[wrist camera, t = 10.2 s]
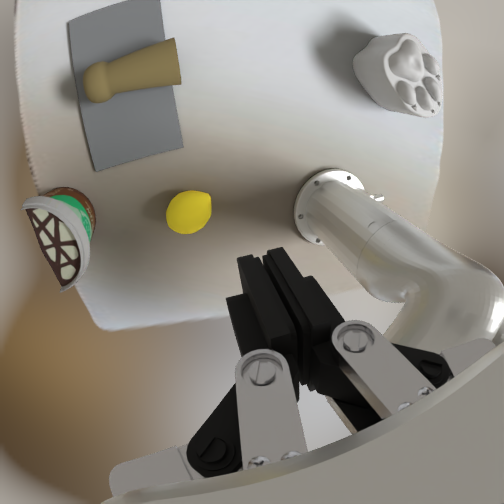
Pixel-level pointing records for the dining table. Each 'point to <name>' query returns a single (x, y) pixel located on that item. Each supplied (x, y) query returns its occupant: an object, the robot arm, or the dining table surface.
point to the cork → (133, 72)
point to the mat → (126, 103)
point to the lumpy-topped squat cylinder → (400, 75)
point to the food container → (63, 231)
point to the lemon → (189, 211)
